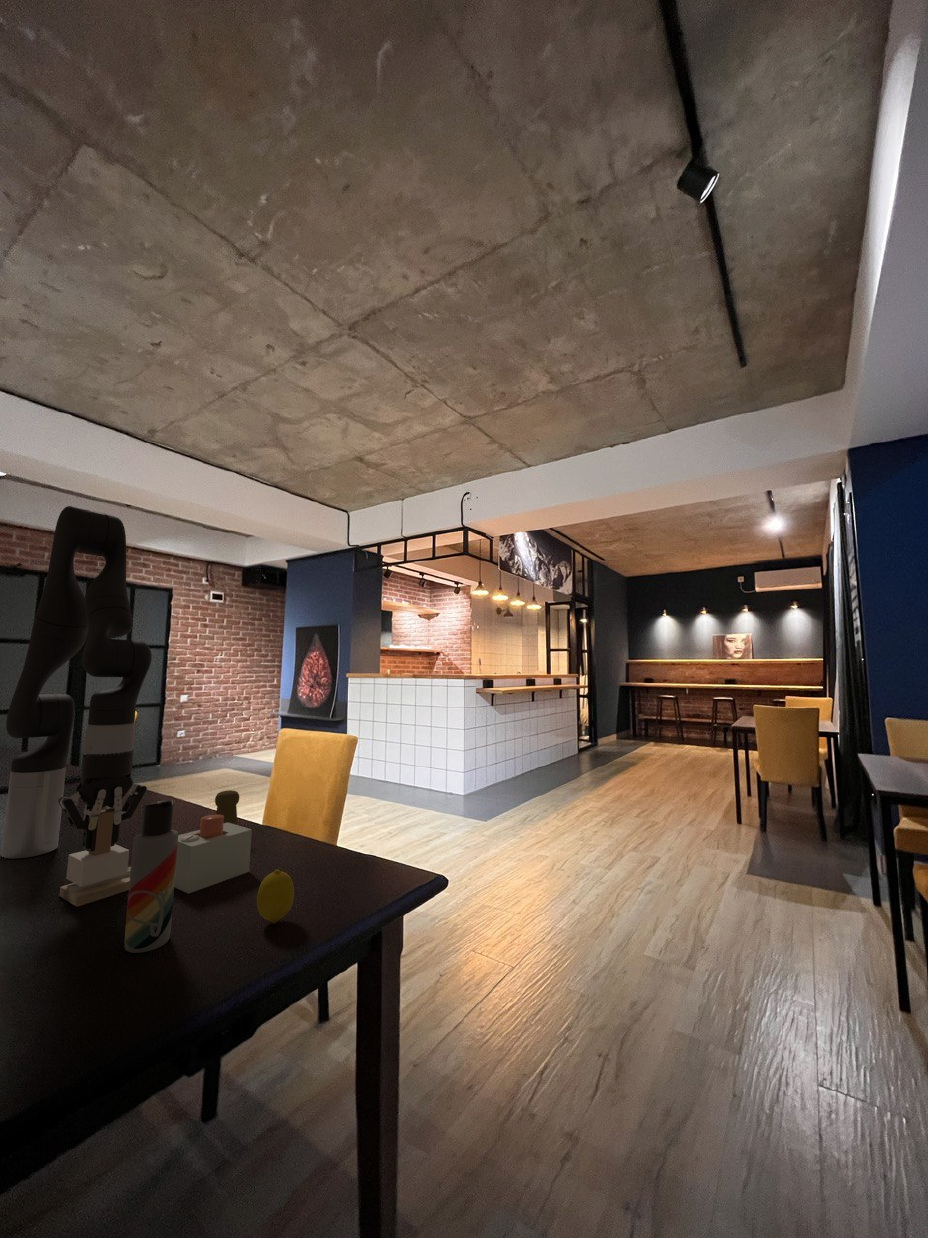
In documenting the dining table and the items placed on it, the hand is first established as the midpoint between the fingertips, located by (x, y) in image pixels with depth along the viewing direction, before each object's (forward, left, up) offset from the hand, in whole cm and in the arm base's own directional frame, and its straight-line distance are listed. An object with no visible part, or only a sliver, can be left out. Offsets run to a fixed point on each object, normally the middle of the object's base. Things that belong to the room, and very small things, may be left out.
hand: (99, 847), depth 88 cm
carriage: (0, 0, -5) cm, 5 cm away
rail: (0, +9, -8) cm, 11 cm away
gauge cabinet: (+9, +15, -8) cm, 19 cm away
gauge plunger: (+10, +15, -3) cm, 18 cm away
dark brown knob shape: (-8, +29, -8) cm, 31 cm away
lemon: (+34, +11, -8) cm, 37 cm away
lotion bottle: (+24, -3, -8) cm, 26 cm away
